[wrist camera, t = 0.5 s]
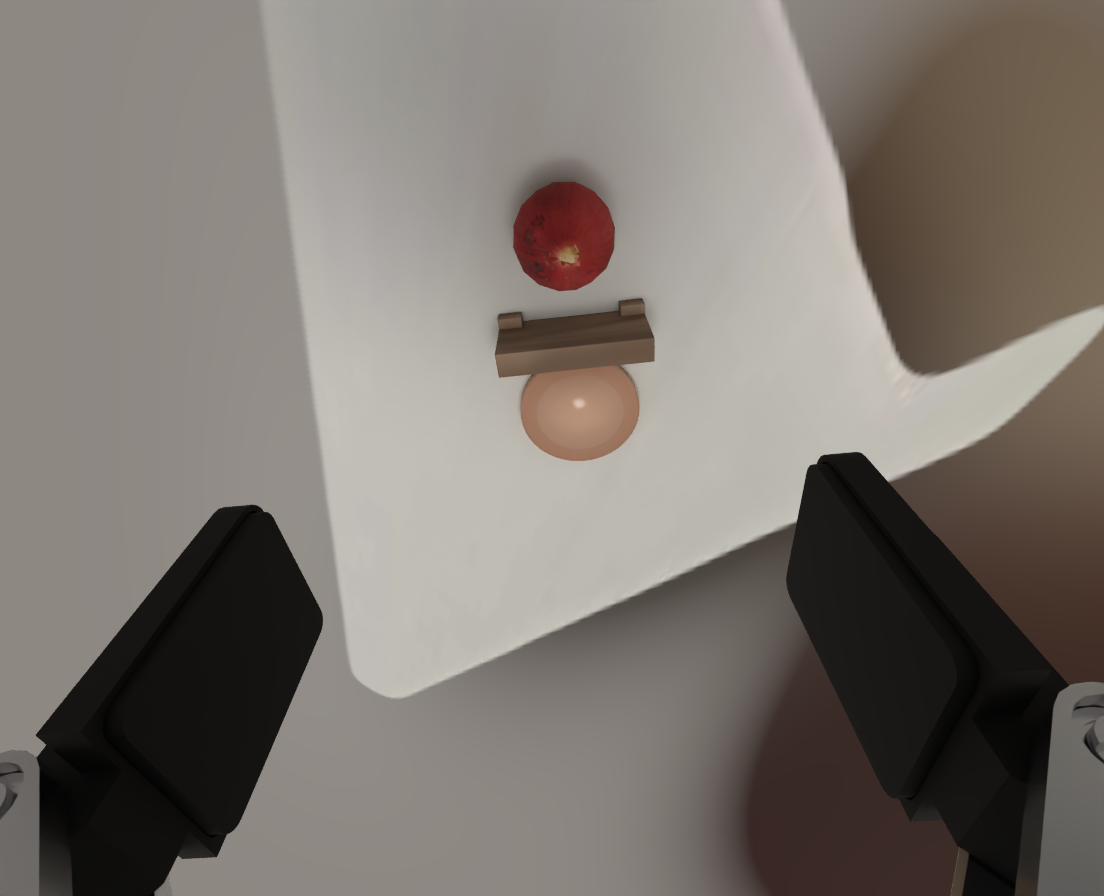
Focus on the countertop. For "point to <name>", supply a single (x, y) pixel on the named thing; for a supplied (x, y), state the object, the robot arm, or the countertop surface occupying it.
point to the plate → (580, 411)
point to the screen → (574, 341)
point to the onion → (564, 236)
